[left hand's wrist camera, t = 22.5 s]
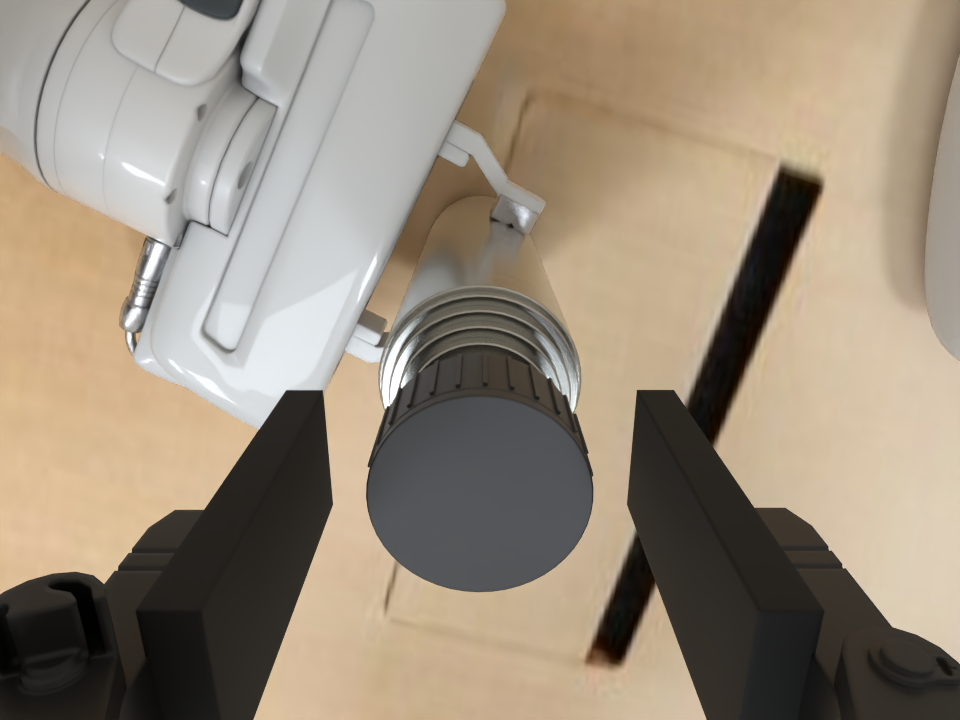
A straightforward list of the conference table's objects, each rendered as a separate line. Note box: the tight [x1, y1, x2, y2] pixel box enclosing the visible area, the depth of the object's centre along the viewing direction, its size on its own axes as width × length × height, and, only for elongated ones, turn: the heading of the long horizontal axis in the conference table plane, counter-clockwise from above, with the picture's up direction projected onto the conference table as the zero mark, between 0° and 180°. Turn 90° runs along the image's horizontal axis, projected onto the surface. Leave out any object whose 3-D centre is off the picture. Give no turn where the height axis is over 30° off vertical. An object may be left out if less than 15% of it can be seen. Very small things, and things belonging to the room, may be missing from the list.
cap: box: [366, 352, 593, 592], centre depth 14 cm, size 4×4×2 cm
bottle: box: [379, 196, 581, 414], centre depth 24 cm, size 5×5×23 cm
